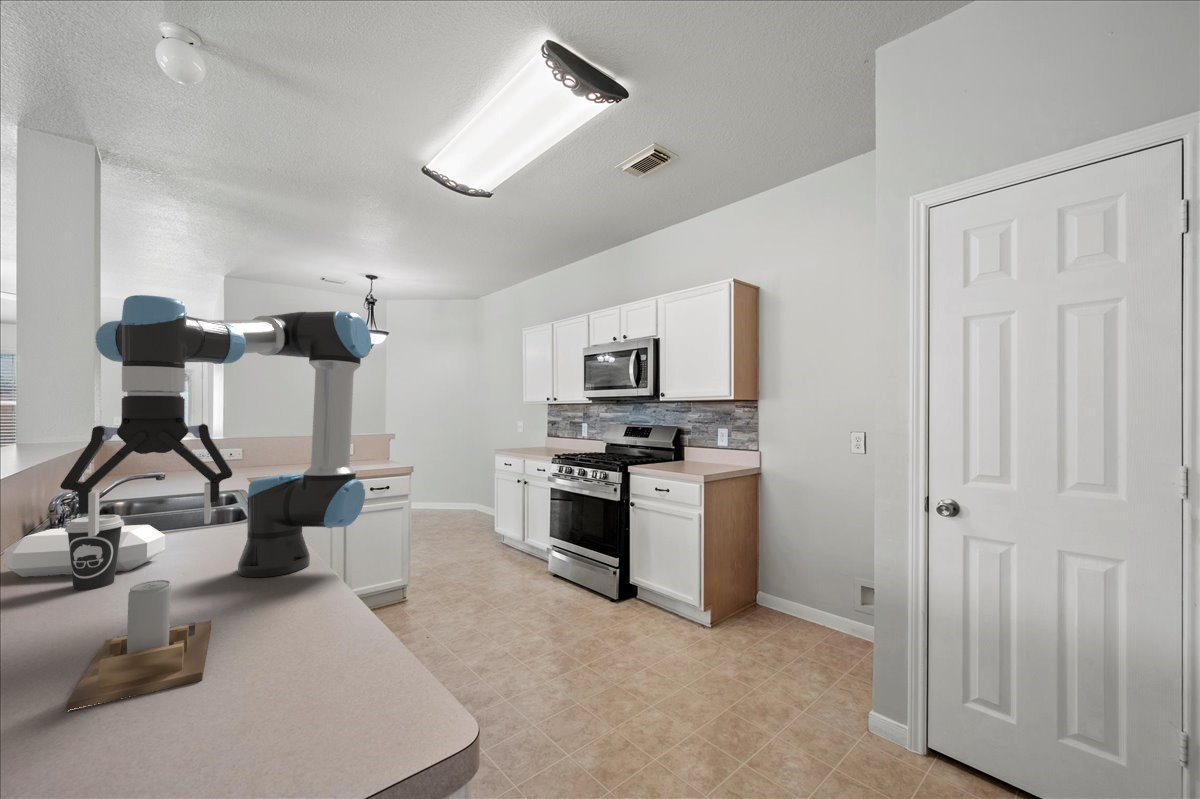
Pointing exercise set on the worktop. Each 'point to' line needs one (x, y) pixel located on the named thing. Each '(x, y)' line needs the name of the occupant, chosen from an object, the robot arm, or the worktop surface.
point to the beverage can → (148, 616)
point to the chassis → (144, 666)
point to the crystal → (53, 553)
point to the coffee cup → (94, 551)
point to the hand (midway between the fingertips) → (153, 528)
